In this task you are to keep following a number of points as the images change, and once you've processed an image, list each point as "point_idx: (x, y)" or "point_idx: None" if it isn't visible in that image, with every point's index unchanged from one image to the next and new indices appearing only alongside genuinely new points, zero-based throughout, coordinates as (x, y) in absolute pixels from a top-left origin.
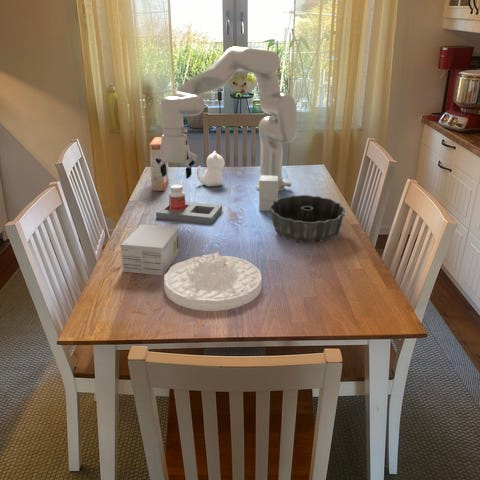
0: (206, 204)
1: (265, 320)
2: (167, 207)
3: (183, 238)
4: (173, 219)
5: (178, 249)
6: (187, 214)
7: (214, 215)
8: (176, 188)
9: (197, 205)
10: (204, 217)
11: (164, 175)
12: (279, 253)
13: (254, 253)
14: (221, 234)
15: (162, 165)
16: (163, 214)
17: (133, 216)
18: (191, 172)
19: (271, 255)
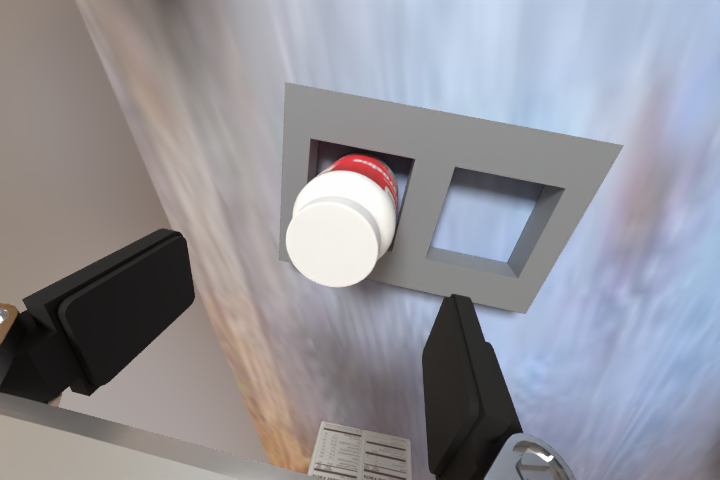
0: (520, 141)
1: None
2: None
3: (414, 384)
4: None
5: (410, 449)
6: (416, 281)
7: (542, 275)
8: (342, 286)
9: (462, 163)
10: (492, 305)
11: (189, 290)
12: (688, 469)
13: (611, 462)
14: (538, 370)
15: (57, 382)
16: None
17: (199, 229)
18: (496, 359)
19: (657, 473)
